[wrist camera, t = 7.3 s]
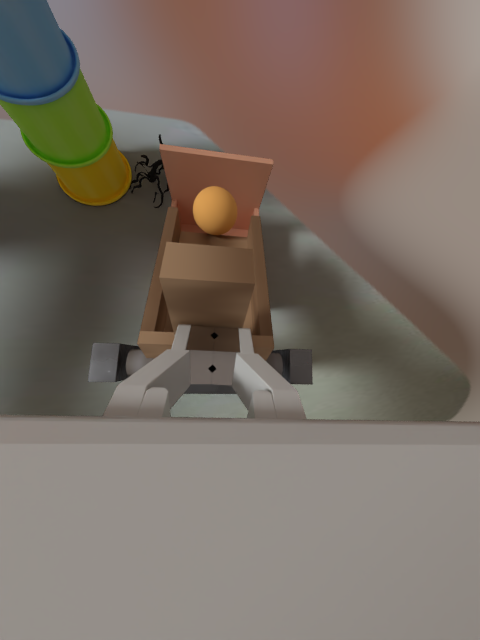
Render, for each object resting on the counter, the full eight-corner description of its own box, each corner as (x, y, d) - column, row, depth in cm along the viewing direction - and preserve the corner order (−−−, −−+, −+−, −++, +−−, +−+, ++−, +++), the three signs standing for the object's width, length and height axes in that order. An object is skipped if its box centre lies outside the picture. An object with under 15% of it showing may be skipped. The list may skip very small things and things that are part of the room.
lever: (131, 379, 16) (23, 271, 6) (161, 243, 23) (131, 97, 13) (276, 381, 17) (362, 293, 8) (263, 252, 24) (299, 123, 15)
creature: (147, 219, 35) (192, 193, 35) (128, 198, 30) (180, 168, 30) (125, 177, 36) (169, 152, 36) (103, 150, 31) (153, 120, 30)
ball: (194, 234, 23) (190, 232, 19) (195, 189, 22) (191, 177, 18) (234, 237, 23) (237, 236, 19) (237, 194, 22) (241, 183, 18)
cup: (172, 307, 32) (147, 274, 20) (178, 222, 34) (160, 144, 22) (249, 311, 34) (273, 283, 21) (251, 229, 36) (273, 159, 23)
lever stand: (152, 391, 30) (80, 433, 13) (158, 329, 32) (99, 297, 15) (260, 392, 32) (313, 430, 15) (260, 333, 33) (310, 308, 17)
